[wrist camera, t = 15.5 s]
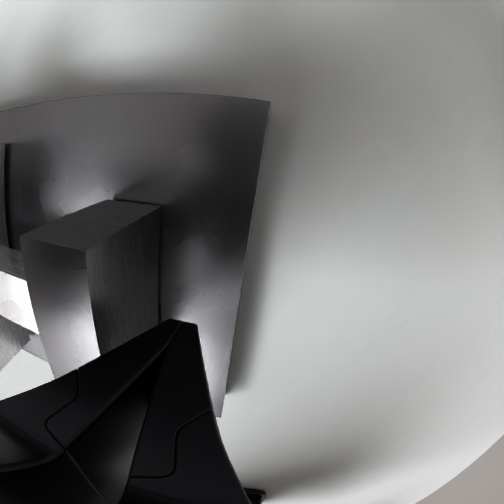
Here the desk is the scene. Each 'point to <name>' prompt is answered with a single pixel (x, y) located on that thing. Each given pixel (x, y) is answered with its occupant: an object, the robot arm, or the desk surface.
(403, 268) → the desk surface
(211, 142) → the press bed
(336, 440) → the desk surface
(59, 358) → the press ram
